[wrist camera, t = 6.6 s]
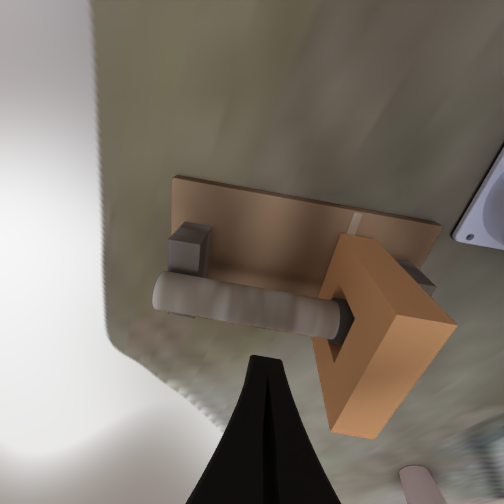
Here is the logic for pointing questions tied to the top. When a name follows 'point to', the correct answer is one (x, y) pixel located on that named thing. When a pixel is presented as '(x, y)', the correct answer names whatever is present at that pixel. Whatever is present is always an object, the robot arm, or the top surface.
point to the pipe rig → (272, 256)
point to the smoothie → (420, 486)
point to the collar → (375, 337)
